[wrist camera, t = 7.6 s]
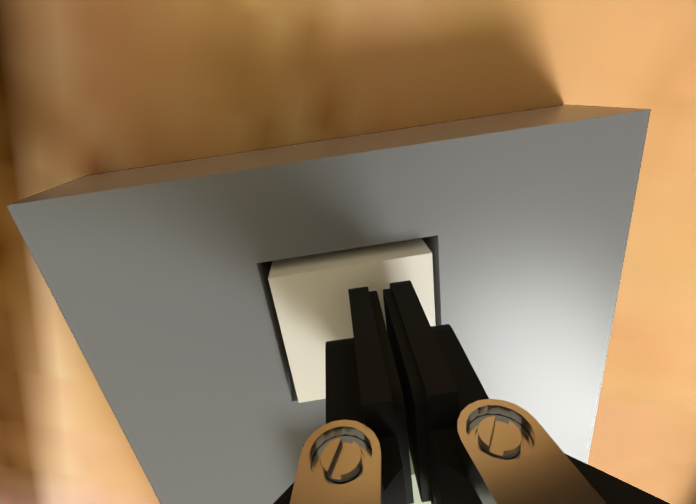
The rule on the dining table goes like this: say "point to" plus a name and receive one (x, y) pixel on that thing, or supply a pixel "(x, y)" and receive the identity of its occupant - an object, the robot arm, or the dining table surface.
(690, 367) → the dining table surface
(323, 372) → the key ivory
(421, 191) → the keypad
